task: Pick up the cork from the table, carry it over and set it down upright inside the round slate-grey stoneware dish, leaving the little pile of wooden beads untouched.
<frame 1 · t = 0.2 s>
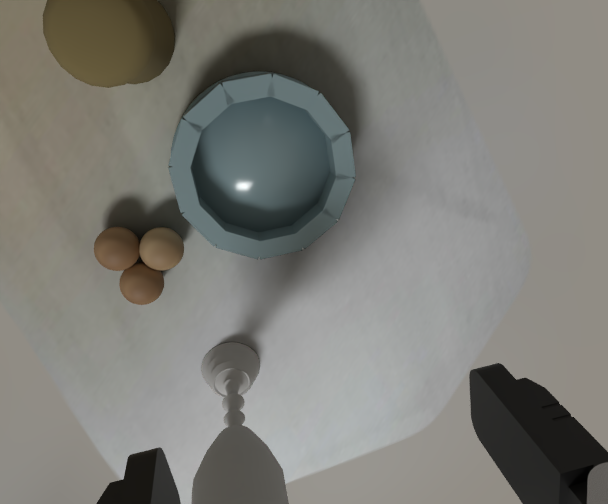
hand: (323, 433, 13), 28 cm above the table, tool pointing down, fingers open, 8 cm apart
dish: (260, 163, 39), on the table
bead pile: (145, 251, 40), on the table
chalice: (230, 366, 45), on the table
cork: (128, 36, 34), on the table
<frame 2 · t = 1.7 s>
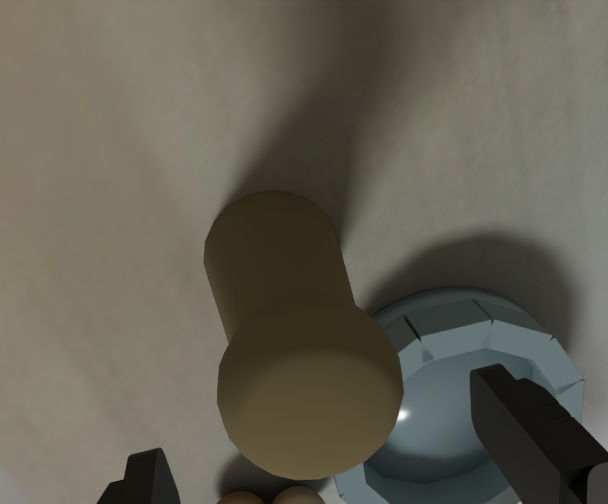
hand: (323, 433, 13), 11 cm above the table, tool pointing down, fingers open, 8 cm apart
dish: (434, 395, 28), on the table
cork: (272, 254, 23), on the table
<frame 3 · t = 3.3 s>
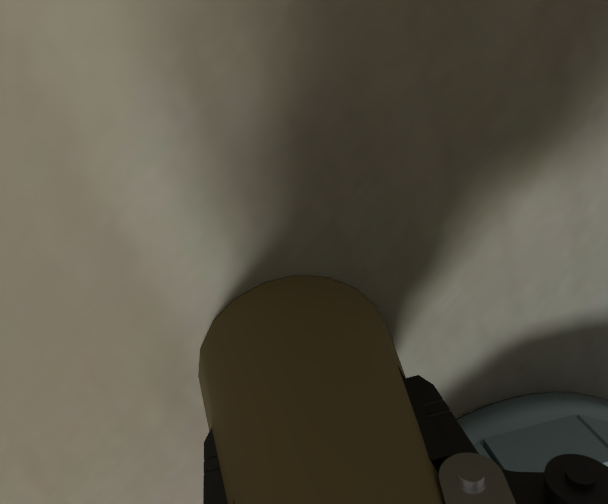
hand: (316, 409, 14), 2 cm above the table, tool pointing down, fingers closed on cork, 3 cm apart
cork: (296, 360, 16), on the table, touching gripper
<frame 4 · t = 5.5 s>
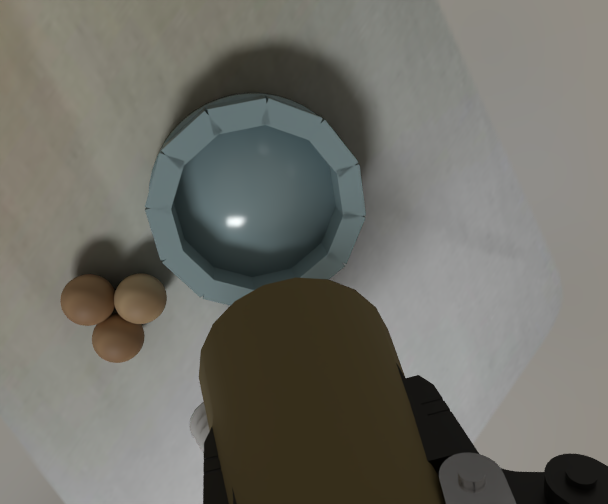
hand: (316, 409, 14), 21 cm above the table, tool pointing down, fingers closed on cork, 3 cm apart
dish: (255, 197, 33), on the table
bead pile: (123, 299, 34), on the table
chalice: (223, 421, 40), on the table
cork: (296, 362, 16), point 19 cm above the table, touching gripper
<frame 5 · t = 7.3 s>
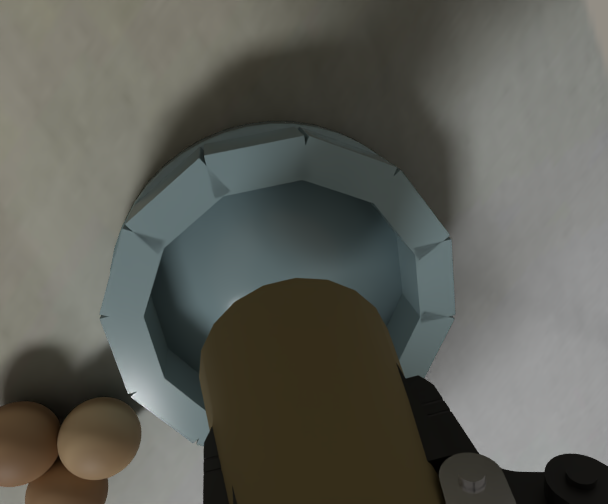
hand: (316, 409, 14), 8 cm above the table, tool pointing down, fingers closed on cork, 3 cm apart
dish: (278, 279, 22), on the table
bead pile: (76, 429, 23), on the table
cork: (296, 362, 16), point 6 cm above the table, touching gripper
when the fingers open (5 cm above the table, at t = 8.3 s): cork drops 1 cm, resting on dish.
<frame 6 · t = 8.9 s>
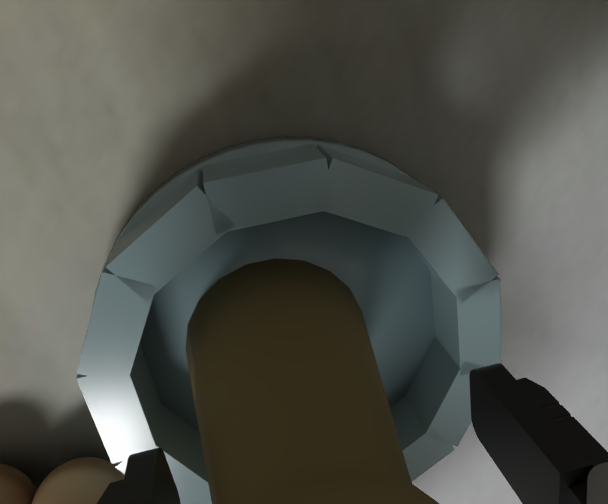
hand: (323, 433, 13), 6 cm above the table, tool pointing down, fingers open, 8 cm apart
dish: (290, 319, 18), on the table
bead pile: (55, 491, 20), on the table
cork: (276, 338, 17), point 1 cm above the table, touching dish
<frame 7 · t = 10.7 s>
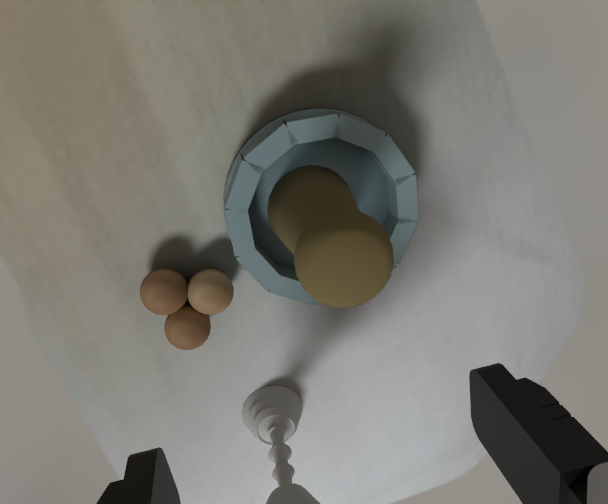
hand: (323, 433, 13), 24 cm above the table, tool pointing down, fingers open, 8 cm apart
dish: (316, 202, 37), on the table
bead pile: (191, 292, 37), on the table
chalice: (272, 409, 43), on the table
cork: (310, 207, 36), point 1 cm above the table, touching dish
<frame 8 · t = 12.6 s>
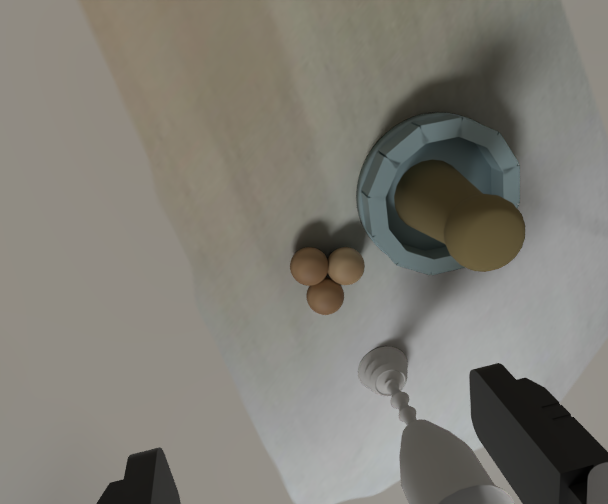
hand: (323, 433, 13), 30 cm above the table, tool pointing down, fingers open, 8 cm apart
dish: (430, 190, 44), on the table
bead pile: (325, 268, 45), on the table
chalice: (382, 367, 50), on the table
cork: (427, 194, 43), point 1 cm above the table, touching dish
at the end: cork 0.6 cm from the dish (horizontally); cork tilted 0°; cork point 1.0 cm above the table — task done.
